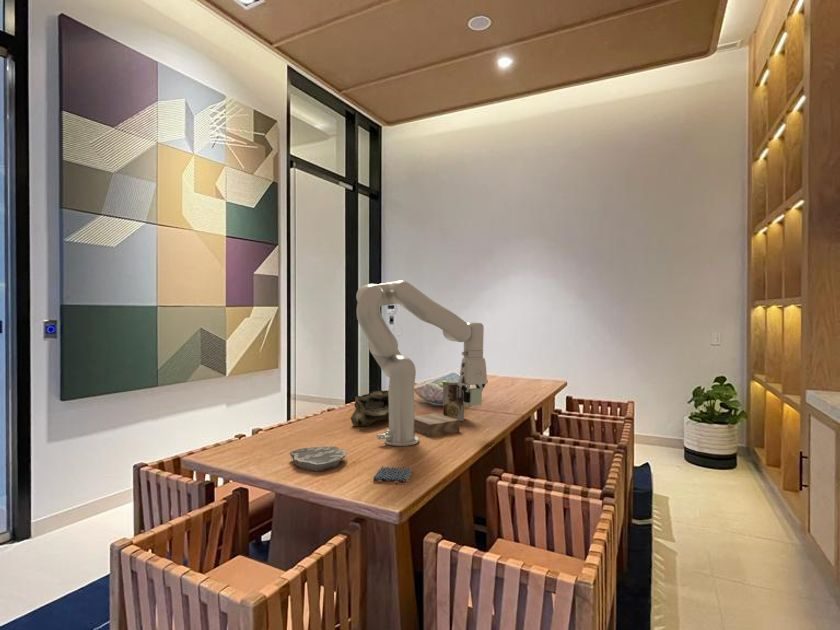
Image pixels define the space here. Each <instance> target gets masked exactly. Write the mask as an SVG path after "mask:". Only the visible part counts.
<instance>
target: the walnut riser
mask: <svg viewBox="0 0 840 630" xmlns="http://www.w3.org/2000/svg"><path fill="white" fill-rule="evenodd" d="M414 421H415V432H417V433H419V434H421V435H425V436H427V437H436V436H442V435H448V434H453V433H458V432H460V421H459V420H458V419H455V418H451V417H448V416H445V415H443V414H441V413H437V412H434V413H427V414H422V415H414Z"/></svg>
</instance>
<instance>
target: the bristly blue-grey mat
mask: <svg viewBox="0 0 840 630" xmlns="http://www.w3.org/2000/svg"><path fill="white" fill-rule="evenodd" d="M414 472H415V471H414V470H413V468H410V467H408V468H407V467H406V468H405V467H399V466H397V467H394V466H392V467H389V466H386V467H385V466H381V467H380V468H379V469H378V471H377V472H375V474H374V475H373V477H372V483H375V484H394V485H395V484H396V485H397V484H398V485H408V483H409V482H410V480H411V476H413V475H414Z"/></svg>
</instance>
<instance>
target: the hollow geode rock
mask: <svg viewBox="0 0 840 630" xmlns="http://www.w3.org/2000/svg"><path fill="white" fill-rule="evenodd" d="M353 406H354V408H355V409H354V412H353V413H352V415H351V417H350V420H351V424H352V425H353V427H354V426H355V427H363V426H364V427H369V426H370V425H372V423H374V422H379V421H382V420H385V419H389V400H388V390H387V389H386V390H381V389H376V390H372V391H371V392H369V393H366V394H363V395H356V396H355V399H354V404H353Z"/></svg>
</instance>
